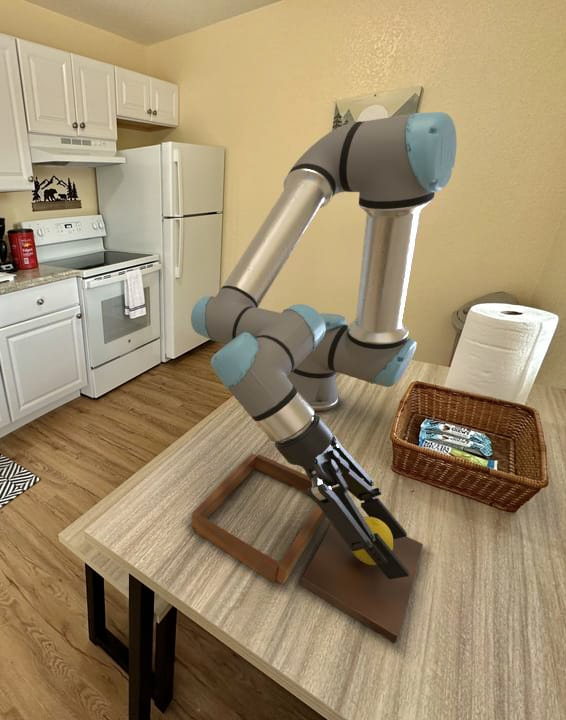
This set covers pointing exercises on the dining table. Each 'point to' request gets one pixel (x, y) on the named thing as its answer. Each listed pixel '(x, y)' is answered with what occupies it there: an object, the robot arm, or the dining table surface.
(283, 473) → the wooden frame
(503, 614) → the dining table surface
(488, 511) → the dining table surface
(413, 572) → the cutting board
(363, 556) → the lemon
